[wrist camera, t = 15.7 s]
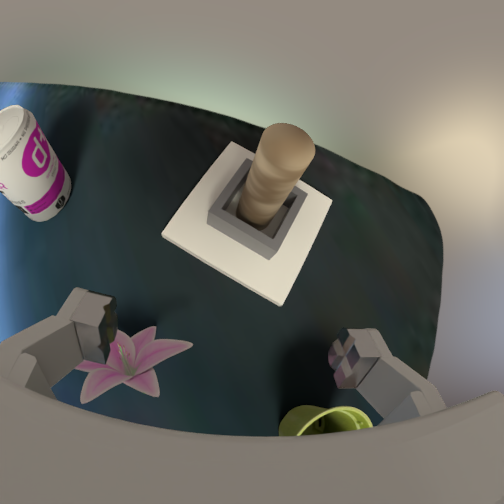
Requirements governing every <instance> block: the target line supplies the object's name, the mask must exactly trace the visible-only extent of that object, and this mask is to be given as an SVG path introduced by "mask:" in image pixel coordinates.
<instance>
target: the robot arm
mask: <svg viewBox="0 0 504 504" xmlns="http://www.w3.org/2000/svg"><path fill="white" fill-rule="evenodd" d="M116 307H117V303H116V298H115V297H114V296H111V295H106V294H102V293H98V292H94V291H91V290H86V289H82V288H78V287H76V288H74V289H73V291H72V292H71V294H70V295H69V297H68V298H67V300H66V301H65V303H64V304H63V306H62V308H61V309H60V311H59V312H58V314H57V315H56V316H53V315H52V316H50V317H48V318H46V319H44V320H42V321H40V322H38V323H37V324H35V325H33V326H31V327H29V328H27V329H25V330H23V331H21V332H19V333H17V334H15V335H13V336H11V337H10V338H8V339H6V340H4V341H2V342H1V344H0V504H504V395H503V394H501V393H499V392H498V391H491V392H488V393H486V394H484V395H481V396H479V397H476V398H474V399H471V400H469V401H466V402H463V403H461V404H458V405H455V406H452V407H449V408H447V407H446V405H445V404H444V402H443V400H442V398H441V396H440V394H439V392H438V391H437V389H436V387H435V386H434V385H432V384H431V383H430V382H428V381H427V380H426V379H424V378H423V377H422V376H420V375H419V374H418V373H416V372H415V371H414V370H413V369H411V368H410V367H409V366H407V365H406V364H405V363H403V362H402V361H401V360H399V359H398V358H397V357H393V356H392V354H391V352H390V351H389V349H388V347H387V345H386V344H385V342H384V340H383V338H382V336H381V335H380V333H379V331H378V330H376V329H370V328H365V329H362V328H342V329H341V330H340V331H339V333H338V334H337V336H338V340H336V341H335V342H334V343H332V345H331V347H330V349H329V354H328V360H329V364H330V366H331V367H332V368H333V369H334V370H335V373H334V378H335V381H336V384H337V387H338V388H356V389H357V390H358V391H359V392H360V393H361V395H362V396H363V397H364V398H365V399H366V400H367V401H368V402H369V403H370V404H371V405H372V406H373V407H374V408H375V409H376V410H377V412H378V413H379V414H380V415H381V416H382V417H383V418H384V420H383V421H382V422H381V423H380V424H379V425H378V426H375V427H370V428H364V429H358V430H351V431H344V432H336V433H327V434H316V435H302V436H279V437H248V436H225V435H211V434H201V433H191V432H183V431H176V430H169V429H163V428H157V427H152V426H146V425H141V424H136V423H132V422H127V421H123V420H119V419H115V418H111V417H107V416H103V415H100V414H96V413H93V412H90V411H86V410H83V409H80V408H77V407H74V406H71V405H68V404H65V403H62V402H60V401H57V399H56V397H55V396H54V394H53V392H52V390H51V387H52V386H53V385H55V384H56V383H57V382H58V381H59V380H61V379H62V378H63V377H64V376H66V375H67V374H68V373H69V372H70V371H72V370H73V369H74V368H75V367H77V366H78V365H79V364H80V363H81V362H83V360H87V361H91V362H95V363H99V364H104V365H106V362H107V360H108V357H109V354H110V351H111V349H110V344H111V343H112V342H114V340H115V337H116V334H117V329H118V316H117V314H116V313H115V312H114V311H115V309H116Z"/></svg>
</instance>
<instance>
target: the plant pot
mask: <svg viewBox="0 0 504 504" xmlns="http://www.w3.org/2000/svg"><path fill="white" fill-rule="evenodd" d="M318 418H320V419H321V426H320V427H319V421H318ZM370 427H373V426H372V423H371V421H370V419H369V418H368V416H367V415H366V414H365V413H363V412H362V411H361V410H359V409H357V408H354V407H349V406H339V407H333V408H330V409H326V408H321V407H316V406H311V405H302V406H298V407H296V408H294V409H292V410H290V411H289V412H288V413H287V414H286V416H285V417H284V418H283V420H282V421H281V423H280V426H279V436H302V435H316V434H327V433H336V432H344V431H351V430H358V429H364V428H370Z"/></svg>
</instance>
